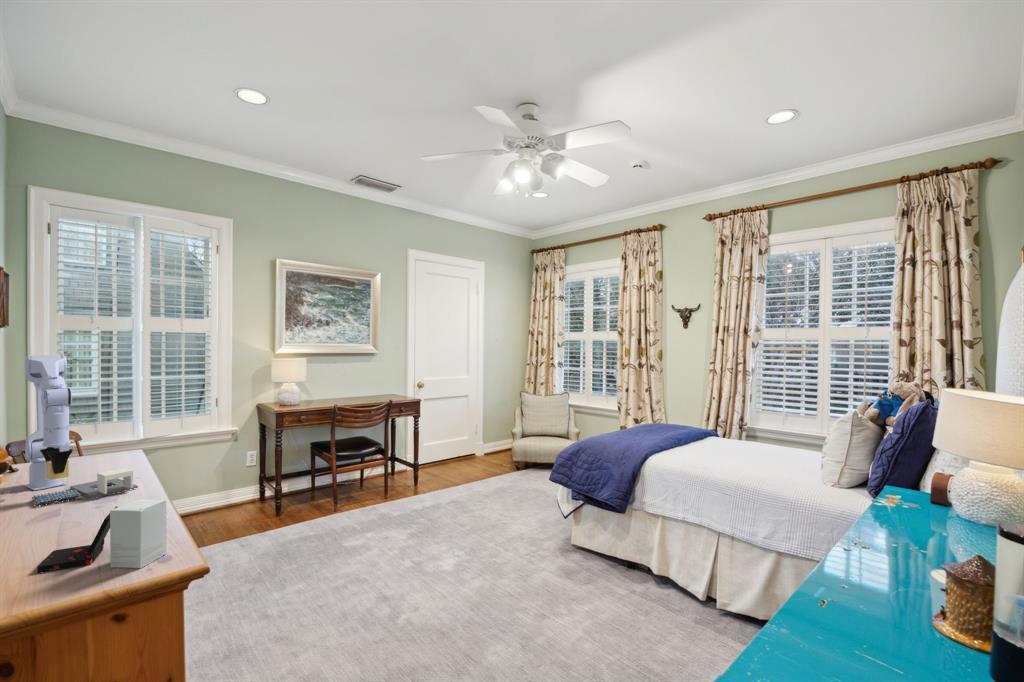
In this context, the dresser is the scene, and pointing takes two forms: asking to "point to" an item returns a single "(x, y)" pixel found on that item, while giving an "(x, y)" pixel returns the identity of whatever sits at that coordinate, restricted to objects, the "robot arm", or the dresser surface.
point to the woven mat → (56, 498)
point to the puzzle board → (91, 493)
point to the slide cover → (114, 474)
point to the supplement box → (137, 533)
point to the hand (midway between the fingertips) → (56, 471)
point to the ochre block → (60, 475)
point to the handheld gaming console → (76, 553)
